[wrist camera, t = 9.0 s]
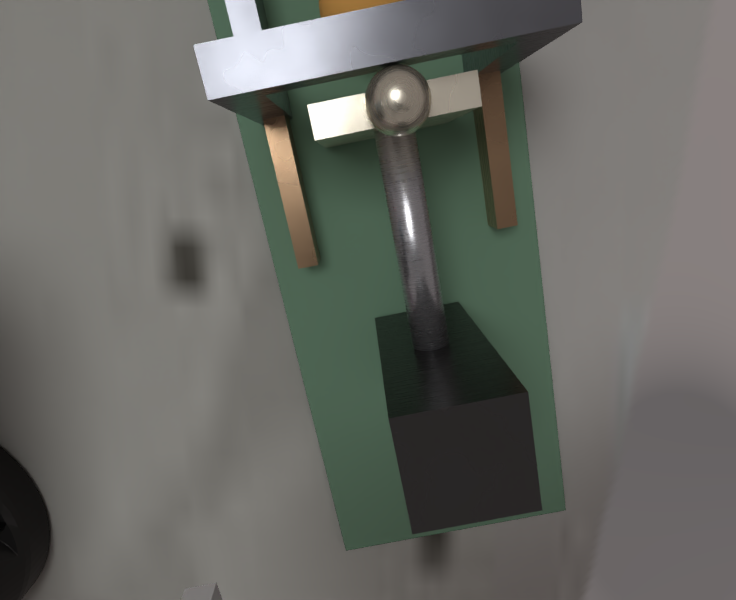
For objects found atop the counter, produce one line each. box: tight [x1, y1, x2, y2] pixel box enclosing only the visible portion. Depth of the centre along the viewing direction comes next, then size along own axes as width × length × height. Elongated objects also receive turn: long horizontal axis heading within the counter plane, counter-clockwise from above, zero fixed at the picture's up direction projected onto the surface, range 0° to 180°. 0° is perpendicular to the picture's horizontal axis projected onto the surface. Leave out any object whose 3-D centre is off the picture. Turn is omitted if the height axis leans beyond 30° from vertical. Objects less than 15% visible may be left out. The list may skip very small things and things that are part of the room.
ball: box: [319, 0, 403, 18], centre depth 21 cm, size 4×4×4 cm
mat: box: [208, 0, 566, 551], centre depth 26 cm, size 35×14×1 cm, turn 11°
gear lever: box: [307, 64, 542, 534], centre depth 20 cm, size 15×6×11 cm, turn 11°
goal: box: [193, 0, 582, 269], centre depth 19 cm, size 17×12×9 cm
